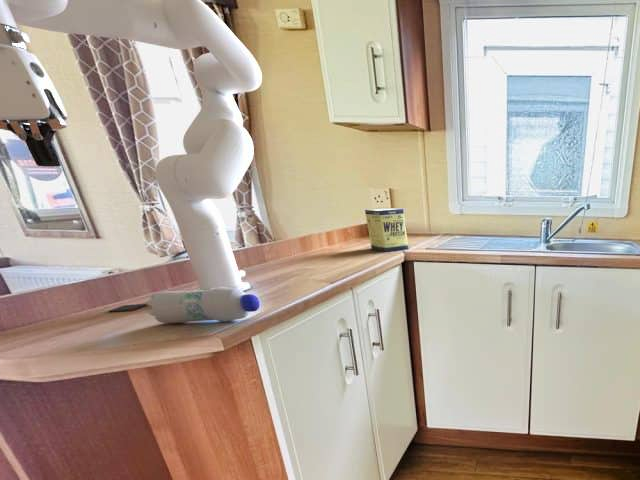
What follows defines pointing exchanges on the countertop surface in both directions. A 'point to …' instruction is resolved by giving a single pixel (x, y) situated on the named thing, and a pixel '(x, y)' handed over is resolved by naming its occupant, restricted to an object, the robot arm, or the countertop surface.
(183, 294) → the bottle
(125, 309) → the bottle marker
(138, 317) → the countertop surface
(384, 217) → the protein box
